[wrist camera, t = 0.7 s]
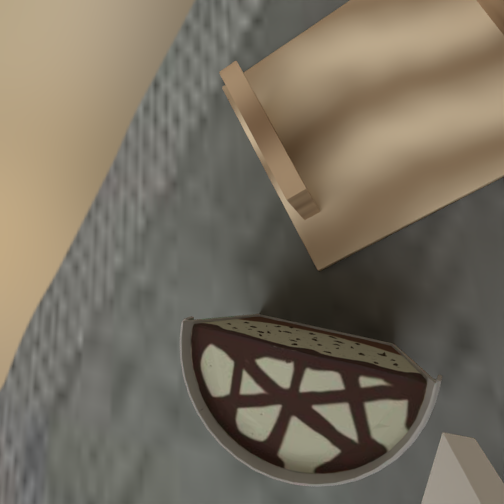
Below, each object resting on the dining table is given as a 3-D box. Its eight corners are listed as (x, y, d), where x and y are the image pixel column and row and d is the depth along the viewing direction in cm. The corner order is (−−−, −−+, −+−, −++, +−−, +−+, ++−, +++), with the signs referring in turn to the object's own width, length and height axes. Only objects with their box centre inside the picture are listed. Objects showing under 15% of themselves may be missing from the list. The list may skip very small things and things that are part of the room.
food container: (224, 392, 27) (147, 446, 18) (239, 309, 28) (171, 318, 18) (403, 446, 23) (427, 551, 14) (418, 349, 24) (452, 387, 14)
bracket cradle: (607, 123, 22) (712, 49, 15) (319, 271, 26) (302, 264, 19) (458, -62, 26) (489, -187, 19) (226, 93, 30) (185, 36, 23)
